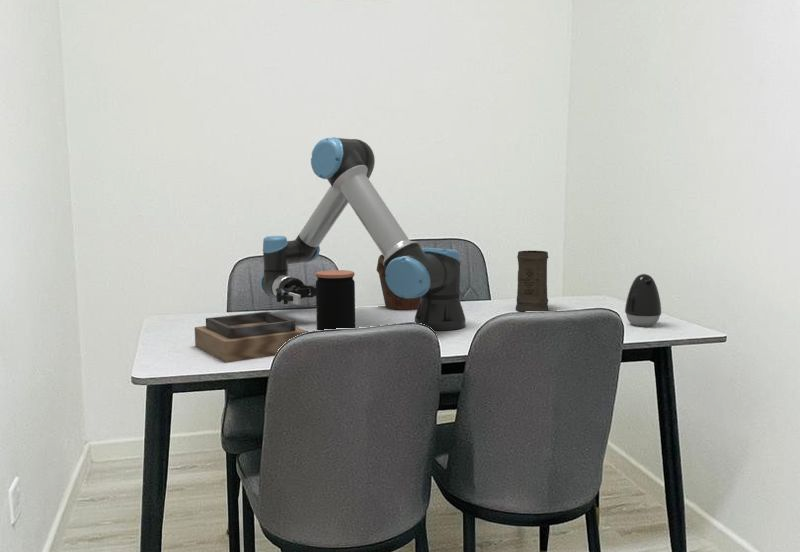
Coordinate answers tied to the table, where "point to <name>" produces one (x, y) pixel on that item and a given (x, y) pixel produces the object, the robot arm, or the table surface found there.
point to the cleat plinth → (245, 335)
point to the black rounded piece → (643, 302)
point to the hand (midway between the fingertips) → (321, 297)
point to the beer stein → (532, 281)
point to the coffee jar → (335, 299)
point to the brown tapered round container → (389, 297)
